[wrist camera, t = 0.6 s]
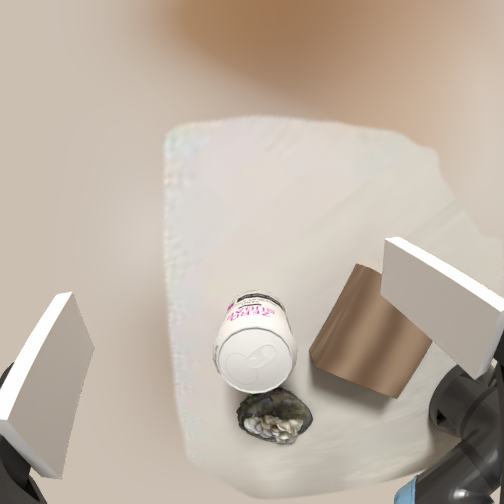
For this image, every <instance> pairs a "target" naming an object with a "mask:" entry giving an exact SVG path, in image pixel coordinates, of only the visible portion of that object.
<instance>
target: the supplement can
mask: <svg viewBox="0 0 504 504" xmlns="http://www.w3.org/2000/svg"><path fill="white" fill-rule="evenodd" d="M296 360H297V347H296V344H295V340H294V337H293V334H292V330H291V327H290V324H289V321H288V318H287V315H286V312H285V309H284V306H283V305H282V303H281V302H280V301H279V299H278V298H277V297H275V296H274V295H272V294H271V293H269V292H266V291H262V290H250V291H246V292H244V293H242V294H240V295H238V296H237V297H236V298H235V299H234V300H233V301H232V302H231V303H230V305H229V308H228V310H227V312H226V315H225V317H224V320H223V322H222V325H221V327H220V330H219V332H218V335H217V338H216V340H215V343H214V345H213V361H214V363H215V366H216V368H217V371H218V372H219V374H220V375H221V376H222V377H223V378H224V379H225V381H226V382H227V383H228V384H229V385H230V386H232V387H234V388H236V389H238V390H239V391H242V392H247V393H252V394H254V393H264V392H267V391H270V390H272V389H274V388H277V387H278V386H279V385H280V384H281V383H282V382H284V381H285V380H286V378H288V377H289V376H290V374H291V372H292V370H293V368H294V367H295V365H296Z"/></svg>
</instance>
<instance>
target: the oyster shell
mask: <svg viewBox="0 0 504 504" xmlns="http://www.w3.org/2000/svg"><path fill="white" fill-rule="evenodd" d="M236 412H237V414H238V417H237V418H238V421H239V426H240V428H241V429H243V430H246V432H247V433H248V434H251V435H252V436H256V437H258V438H261V439H264V440H266V441H271V442H275V441H277V442H278V443H280V444H284V443H286V442H288V443H292V442H294V441H295V440H296V438H297V436H296V435H297V434H299V433H303V432H304V431H305V430H306V429H307V428H308V426H309V425H310V424H311V423H312V421H313V418H312V414H311V412H310V410H309V409H308V407H307V406H306V405H305V404H304V403H303V402H302V401H301V400H300V399H298V398H297V397H296V396H295V395H294V394H292V393H291V392H290V391H287V390H285V389H283V388H274V389H272V390H270V391H267V392H264V393H254V394H252V393H251V394H250V395H248V397H247V398H246V399H245V401H243V402H242V403H241V406H240V407H239V409H238V410H237V411H236Z"/></svg>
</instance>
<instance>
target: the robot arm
mask: <svg viewBox="0 0 504 504" xmlns="http://www.w3.org/2000/svg"><path fill="white" fill-rule="evenodd" d="M380 294H381V295H382V296H383V297H384V298H385V299H386V300H388V301H389V302H390V303H391V304H392V305H393V306H395V307H396V308H397V309H398V310H399V311H400V312H401V313H402V314H404V315H405V316H406V317H407V318H408V319H409V320H410V321H412V322H413V323H414V324H415V325H416V326H417V327H418V328H419V329H420V330H422V331H423V332H424V333H425V334H426V335H427V336H428V337H429V338H430V339H431V340H433V341H434V342H435V343H436V344H437V345H438V346H439V347H440V348H441V349H442V350H443V351H444V352H446V353H447V354H448V355H449V356H450V357H451V358H452V359H453V360H454V361H455V362H456V363H457V364H458V365H456V366H455V367H454V368H453V369H451V370H450V371H449V372H448V373H447V374H446V376H445V377H444V378H443V379H442V381H441V382H440V383H439V385H438V387H437V388H436V390H435V392H434V394H433V397H432V400H431V403H430V410H429V412H430V418H431V420H432V422H433V423H434V424H435V425H436V427H437V428H438V429H440V430H441V431H443V432H446V433H448V434H451V435H453V436H456V437H458V438H461V439H462V441H461V442H460V443H459V444H458V445H457V446H455V447H454V448H453V449H452V450H451V451H450V452H448V453H447V454H446V455H445V456H443V457H442V458H441V459H440V460H438V461H437V462H436V463H434V464H433V465H432V466H431V467H429V468H428V469H427V470H425V471H424V472H422V473H421V474H420V475H416V476H415V478H414V479H413V480H411V481H410V482H409V483H408V484H406V485H405V486H403V487H402V488H401V489H399V490H398V492H397V494H396V495H395V498H394V504H495V502H494V501H493V500H492V498H491V497H490V495H491V494H492V493H493V492H494V491H495V490H496V489H497V488H498V487H500V486H501V492H500V504H504V299H503V298H502V297H500V296H499V295H497V294H496V293H494V292H492V291H491V290H489V289H488V288H486V287H485V286H483V285H482V284H480V283H478V282H477V281H475V280H473V279H472V278H470V277H468V276H467V275H465V274H463V273H462V272H460V271H458V270H457V269H455V268H453V267H452V266H450V265H448V264H447V263H445V262H443V261H441V260H440V259H438V258H436V257H434V256H433V255H431V254H429V253H427V252H426V251H424V250H422V249H420V248H418V247H417V246H415V245H413V244H411V243H409V242H407V241H406V240H404V239H402V238H400V237H393V238H388V239H385V246H384V260H383V272H382V282H381V291H380ZM93 351H94V346H93V343H92V341H91V339H90V336H89V334H88V332H87V329H86V326H85V324H84V321H83V319H82V317H81V314H80V311H79V308H78V306H77V303H76V300H75V297H74V294H73V292H68V293H62V294H57V295H56V297H55V298H54V299H53V301H52V302H51V304H50V305H49V307H48V309H47V310H46V311H45V313H44V314H43V316H42V318H41V319H40V321H39V323H38V324H37V325H36V327H35V329H34V330H33V332H32V334H31V335H30V337H29V339H28V340H27V342H26V344H25V345H24V347H23V349H22V351H21V353H20V354H19V356H18V357H17V359H16V361H15V362H13V363H12V364H11V365H10V366H9V367H8V368H7V369H6V370H5V371H4V373H3V375H2V376H1V378H0V504H47V502H46V500H45V499H44V497H43V495H42V494H41V492H40V490H39V488H38V486H37V484H36V483H35V481H34V480H33V478H32V477H31V476H30V475H29V472H30V468H31V467H32V468H33V469H34V470H35V471H36V472H37V473H38V474H39V475H40V476H41V477H47V478H53V479H62V474H63V469H64V463H65V458H66V452H67V448H68V443H69V439H70V434H71V430H72V426H73V422H74V417H75V413H76V409H77V406H78V402H79V398H80V394H81V391H82V387H83V384H84V380H85V377H86V374H87V370H88V367H89V364H90V360H91V357H92V354H93ZM493 358H494V359H495V360H497V361H498V362H497V364H496V367H495V369H494V367H493V366H492V365H491V364H490V363H491V361H492V359H493Z"/></svg>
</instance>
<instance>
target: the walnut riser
mask: <svg viewBox="0 0 504 504" xmlns="http://www.w3.org/2000/svg"><path fill="white" fill-rule="evenodd" d="M381 282H382V274H380V273H378V272H377V271H375V270H373V269H371V268H368V267H365V266H363V265H360V264H357V263H356V265H355V267H354V269H353V271H352V273H351V275H350V277H349V279H348V281H347V283H346V285H345V287H344V289H343V291H342V292H341V294H340V296H339V298H338V300H337V302H336V304H335V305H334V307H333V309H332V311H331V313H330V314H329V316H328V318H327V320H326V322H325V323H324V325H323V327H322V329H321V330H320V332H319V334H318V336H317V337H316V339H315V341H314V342H313V344H312V346H311V347H310V349H309V351H310V354H311V356H312V359H313V361H314V364H315V366H316V367H317V368H319V369H321V370H324V371H326V372H328V373H331V374H333V375H336V376H338V377H341V378H343V379H346V380H348V381H351V382H353V383H356V384H358V385H361V386H363V387H366V388H369V389H371V390H374V391H377V392H379V393H382V394H385V395H387V396H390V397H393V398H396V399H397V398H398V396H399V395H400V393H401V392H402V391H403V389H404V388H405V386H406V384H407V383H408V381H409V380H410V378H411V377H412V375H413V374H414V372H415V370H416V369H417V367H418V365H419V364H420V362H421V360H422V359H423V357H424V355H425V354H426V352H427V350H428V348H429V347H430V345H431V343H432V341H433V340H431V339H430V338H429V337H428V336H427V335H426V334H425V333H424V332H423V331H422V330H420V329H419V328H418V327H417V326H416V325H415V324H414V323H413V322H412V321H410V320H409V319H408V318H407V317H406V316H405V315H404V314H402V313H401V312H400V311H399V310H398V309H397V308H396V307H395V306H393V305H392V304H391V303H390V302H389V301H388V300H386V299H385V298H384V297H383V296H382V295H381V294H380V291H381Z"/></svg>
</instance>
